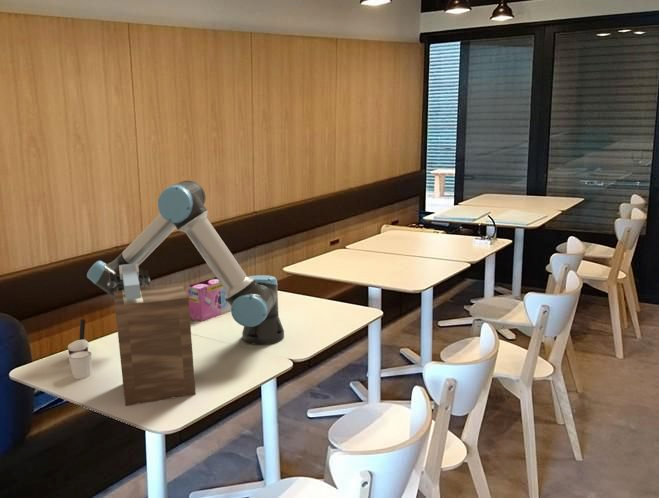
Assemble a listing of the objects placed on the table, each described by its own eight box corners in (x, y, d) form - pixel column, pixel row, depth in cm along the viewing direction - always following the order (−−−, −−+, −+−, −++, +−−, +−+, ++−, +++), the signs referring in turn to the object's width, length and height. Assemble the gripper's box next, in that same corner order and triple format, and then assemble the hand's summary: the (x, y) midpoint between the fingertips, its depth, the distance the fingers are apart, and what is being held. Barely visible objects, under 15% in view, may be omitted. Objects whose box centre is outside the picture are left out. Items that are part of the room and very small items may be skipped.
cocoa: (74, 364, 219) (70, 331, 216) (62, 360, 222) (58, 328, 219) (97, 354, 227) (93, 322, 223) (85, 350, 230) (81, 318, 226)
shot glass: (74, 371, 213) (72, 351, 211) (96, 370, 213) (93, 350, 212) (68, 380, 206) (65, 359, 204) (90, 378, 207) (88, 358, 205)
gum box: (232, 302, 280) (230, 272, 277) (245, 305, 276) (243, 274, 272) (188, 318, 262) (186, 285, 259) (201, 321, 257) (199, 288, 254)
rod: (122, 277, 205) (121, 264, 204) (135, 275, 206) (134, 263, 205) (125, 299, 182) (124, 285, 181) (140, 298, 183) (139, 284, 182)
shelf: (123, 383, 202) (113, 290, 196) (188, 373, 209) (181, 282, 202) (125, 405, 188) (115, 305, 181) (195, 394, 194) (188, 297, 187)
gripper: (156, 296, 220) (159, 277, 198) (103, 302, 214) (100, 283, 193) (154, 274, 222) (156, 254, 200) (100, 280, 216) (97, 259, 195)
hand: (129, 268), depth 197 cm, fingers closed on rod, 4 cm apart
